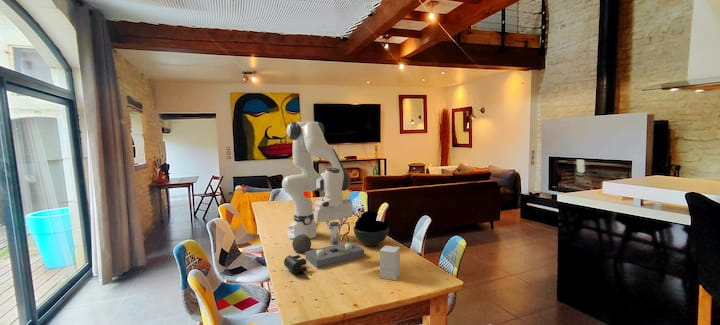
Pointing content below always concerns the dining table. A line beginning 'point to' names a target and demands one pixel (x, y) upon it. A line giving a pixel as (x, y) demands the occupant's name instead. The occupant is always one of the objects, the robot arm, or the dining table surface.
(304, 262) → the end cap
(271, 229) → the dining table surface
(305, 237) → the decorative ball
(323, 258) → the block
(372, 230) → the coal bowl
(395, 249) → the supplement box
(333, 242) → the steel plug
